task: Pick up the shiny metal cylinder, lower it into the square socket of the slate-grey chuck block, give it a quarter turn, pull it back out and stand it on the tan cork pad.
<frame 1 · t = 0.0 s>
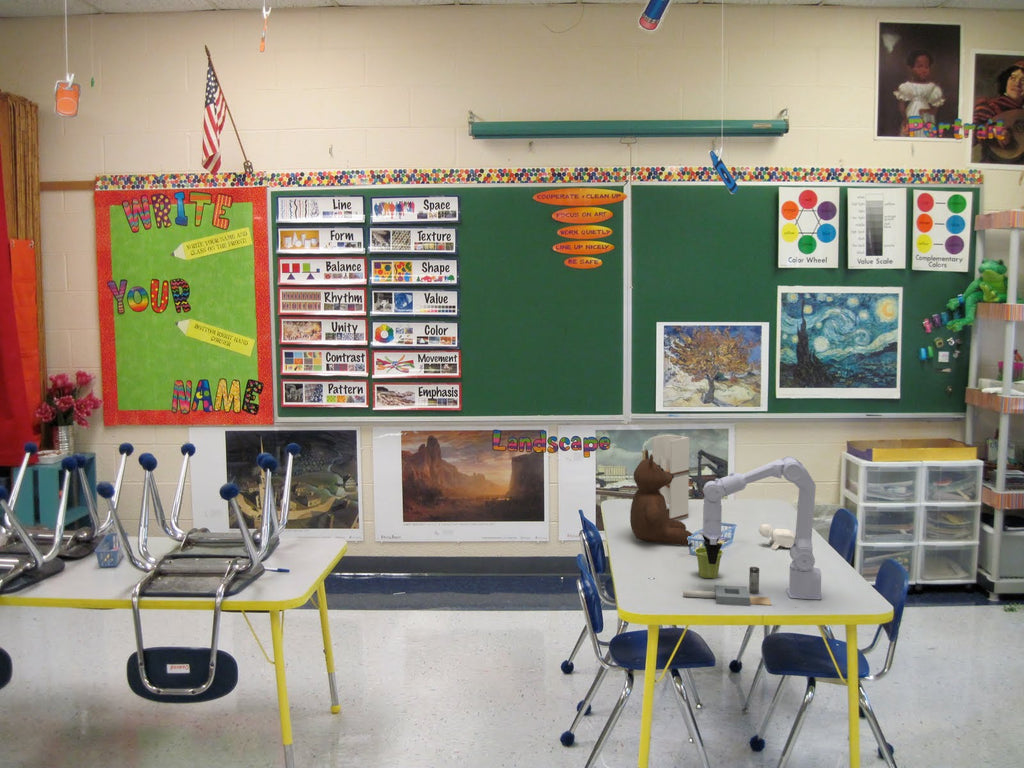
hand: (711, 559, 271), 10 cm above the table, fingers open, 7 cm apart
plant pot: (708, 576, 286), on the table
pad: (760, 601, 262), on the table
chuck block: (731, 598, 264), on the table
white animal figurine: (778, 547, 317), on the table
white banded box: (669, 518, 358), on the table
stuffed bear: (660, 540, 327), on the table
shiny metal cylinder: (753, 592, 270), on the table
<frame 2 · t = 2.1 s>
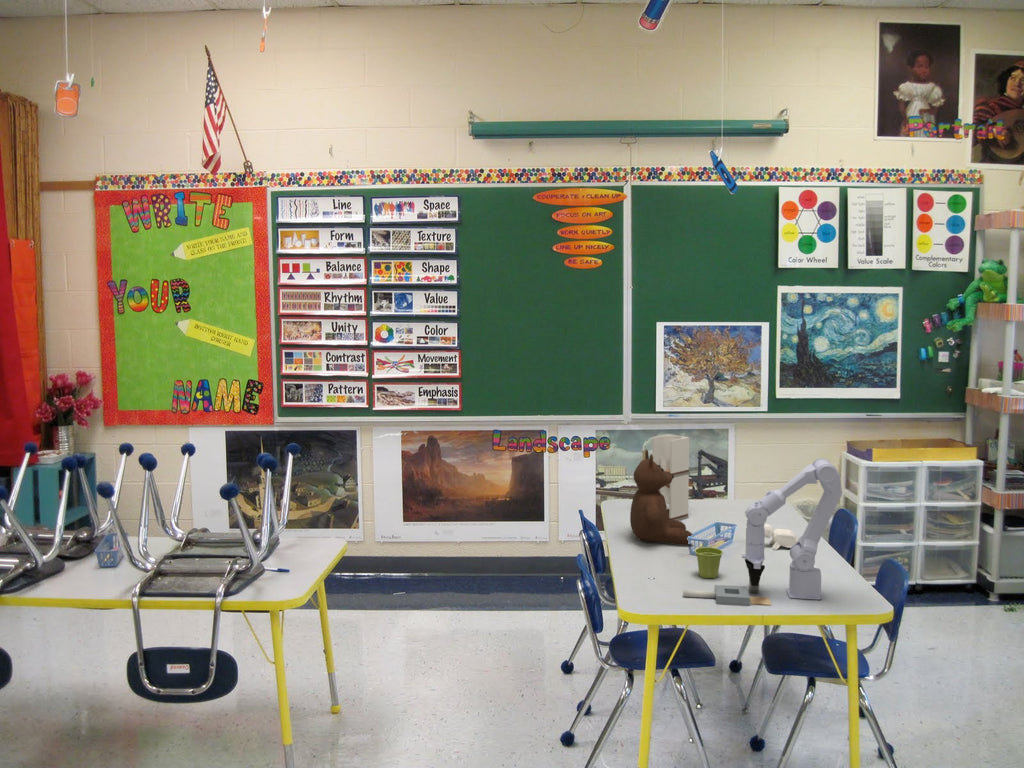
hand: (754, 583, 269), 3 cm above the table, fingers closed on shiny metal cylinder, 3 cm apart
shiny metal cylinder: (753, 592, 270), on the table, touching gripper
everything else where it was.
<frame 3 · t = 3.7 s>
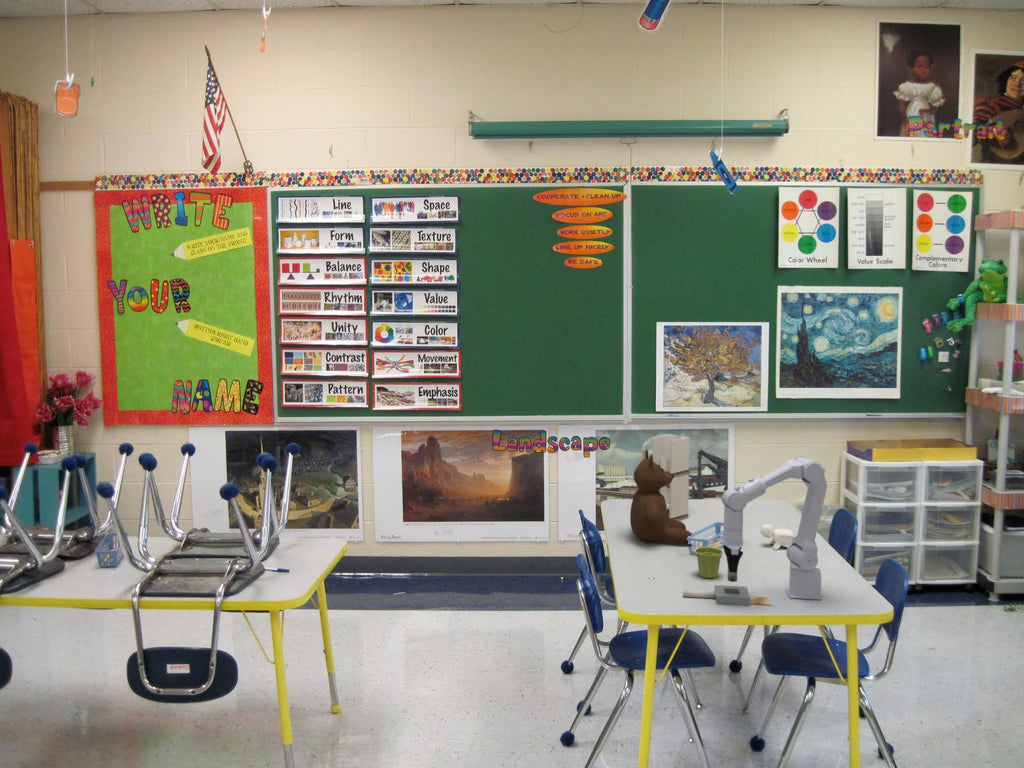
hand: (732, 570, 263), 9 cm above the table, fingers closed on shiny metal cylinder, 3 cm apart
shiny metal cylinder: (732, 580, 264), point 6 cm above the table, touching gripper
everything else where it was.
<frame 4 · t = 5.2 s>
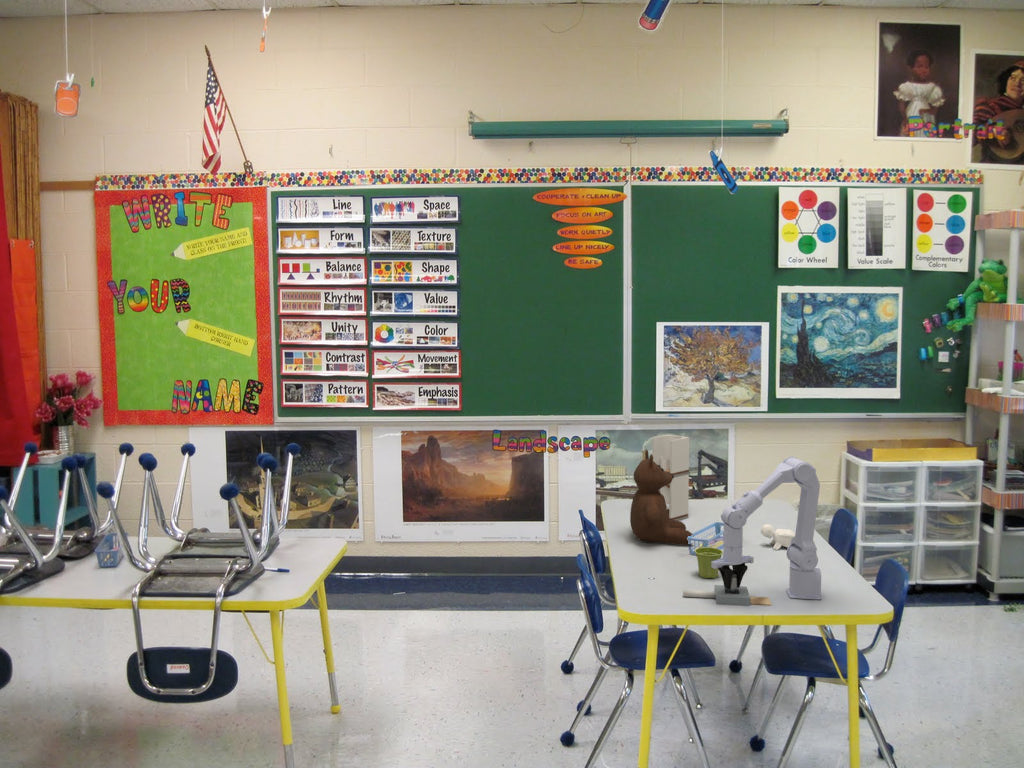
hand: (732, 587, 264), 4 cm above the table, fingers closed on shiny metal cylinder, 3 cm apart
shiny metal cylinder: (731, 597, 264), resting in chuck block, touching gripper
everything else where it was.
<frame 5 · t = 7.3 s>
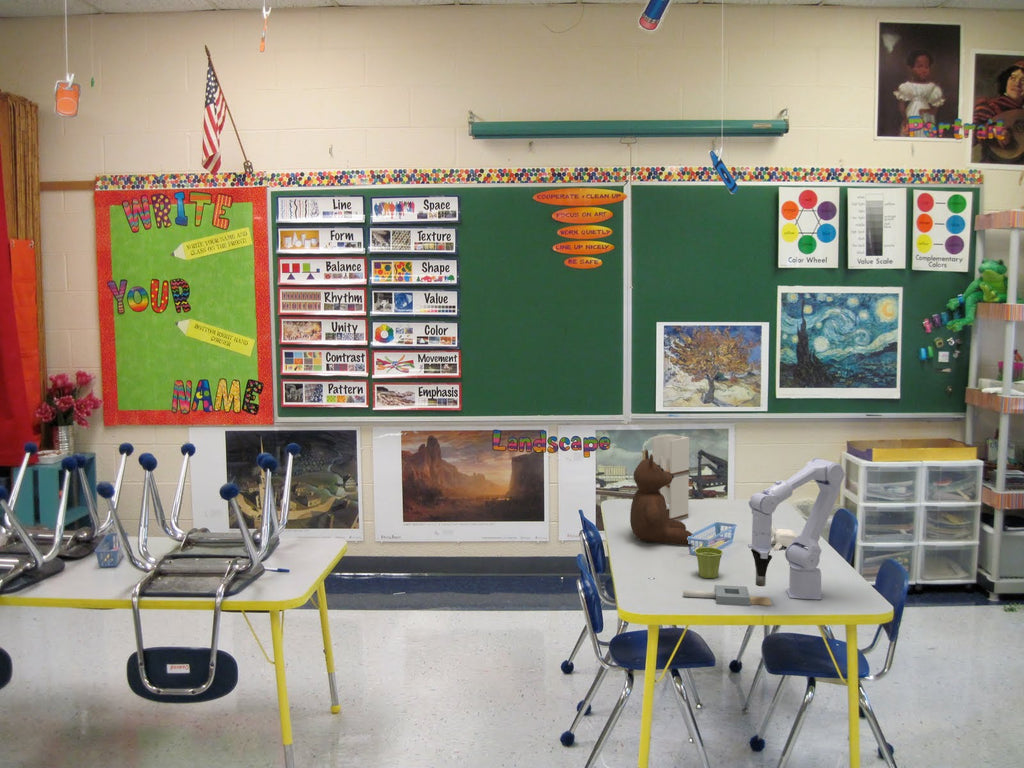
hand: (760, 574, 261), 9 cm above the table, fingers closed on shiny metal cylinder, 3 cm apart
shiny metal cylinder: (760, 584, 261), point 5 cm above the table, touching gripper
everything else where it was.
when the fingers open (4 cm above the table, at t = 8.4 s): shiny metal cylinder stays where it is, resting on pad.
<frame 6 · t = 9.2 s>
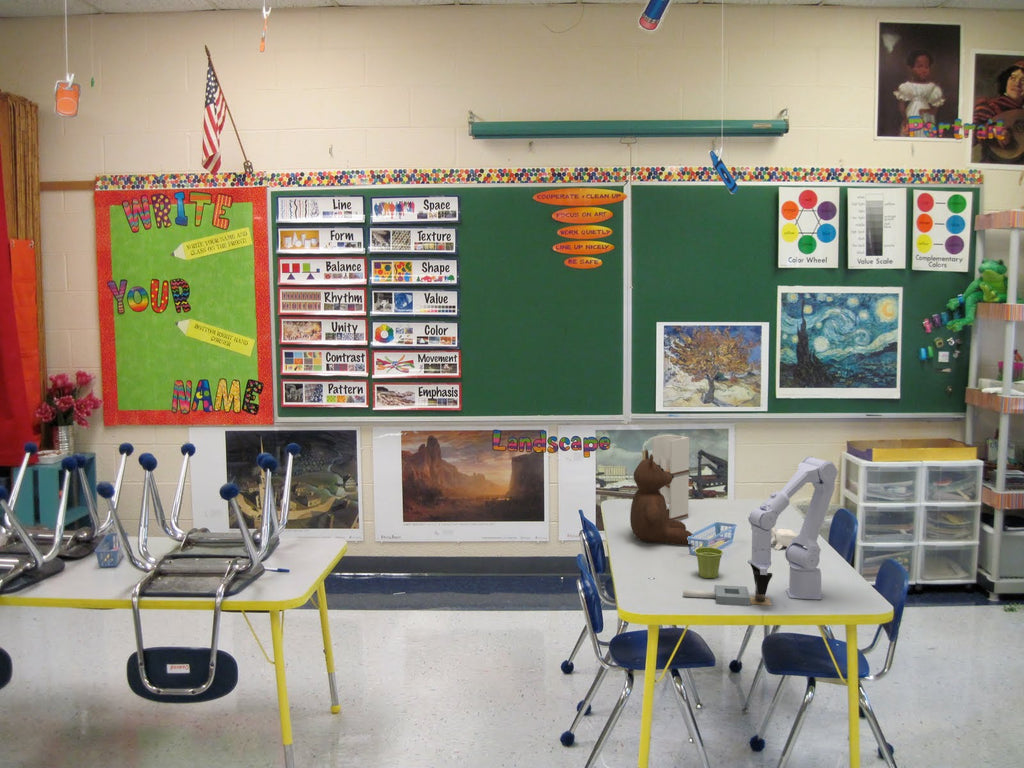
hand: (760, 589, 261), 4 cm above the table, fingers open, 7 cm apart
shiny metal cylinder: (760, 600, 262), resting on pad
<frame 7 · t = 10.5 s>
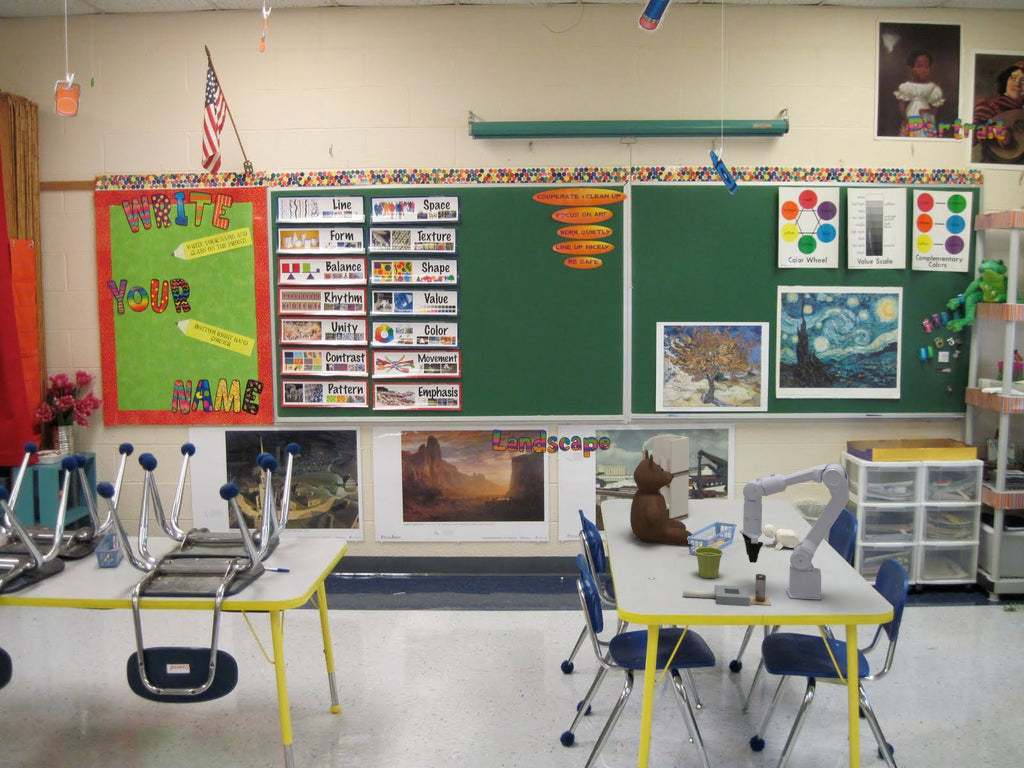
hand: (751, 558, 273), 10 cm above the table, fingers open, 7 cm apart
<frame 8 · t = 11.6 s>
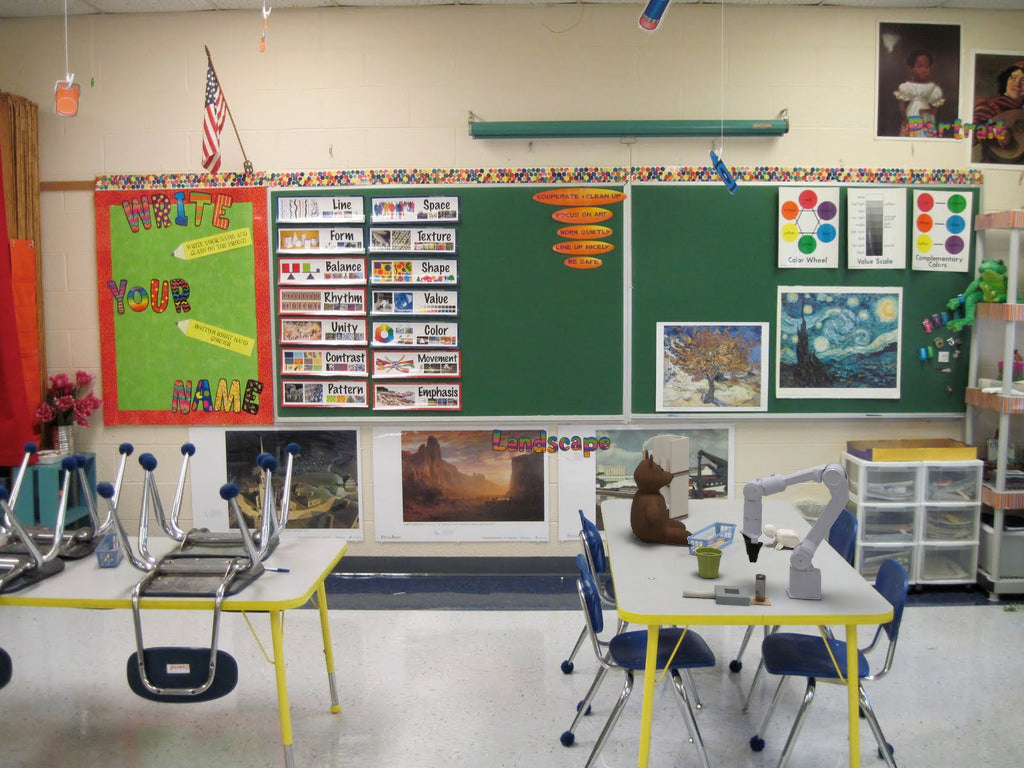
hand: (751, 558, 273), 10 cm above the table, fingers open, 7 cm apart
at the end: shiny metal cylinder 0.0 cm from the pad (horizontally); shiny metal cylinder tilted 0°; the gripper is holding nothing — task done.
